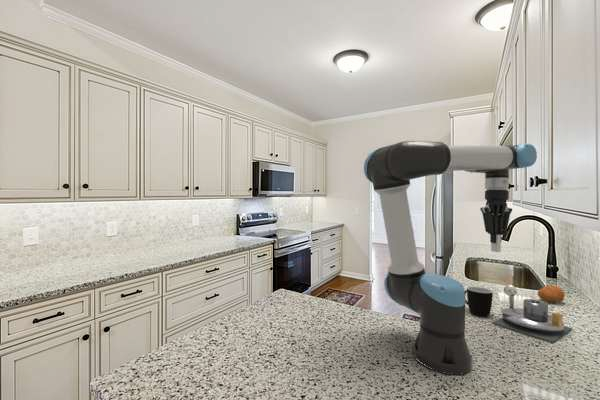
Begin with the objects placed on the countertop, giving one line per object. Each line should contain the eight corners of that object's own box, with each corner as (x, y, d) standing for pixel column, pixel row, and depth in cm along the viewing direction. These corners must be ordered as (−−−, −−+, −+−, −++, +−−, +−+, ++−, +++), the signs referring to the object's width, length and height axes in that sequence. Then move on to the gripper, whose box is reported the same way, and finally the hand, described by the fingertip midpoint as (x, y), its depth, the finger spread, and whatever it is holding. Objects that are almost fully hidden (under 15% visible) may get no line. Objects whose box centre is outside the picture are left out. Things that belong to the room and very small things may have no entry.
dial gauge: (515, 315, 117) (515, 287, 118) (503, 312, 121) (503, 284, 121) (519, 313, 120) (519, 285, 120) (507, 310, 123) (507, 283, 123)
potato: (571, 304, 132) (571, 288, 132) (552, 306, 129) (552, 289, 129) (549, 298, 141) (549, 282, 141) (531, 299, 138) (532, 284, 138)
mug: (497, 316, 116) (497, 291, 116) (482, 319, 113) (482, 293, 113) (470, 306, 127) (470, 283, 127) (455, 309, 124) (455, 285, 124)
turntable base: (553, 343, 93) (553, 337, 93) (492, 323, 109) (492, 318, 109) (572, 329, 104) (572, 324, 104) (514, 313, 119) (514, 308, 120)
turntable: (578, 330, 99) (578, 314, 99) (531, 332, 97) (531, 316, 97) (531, 311, 116) (531, 297, 117) (490, 312, 114) (490, 298, 115)
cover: (553, 322, 102) (553, 303, 102) (535, 322, 101) (535, 304, 101) (535, 314, 109) (535, 297, 109) (518, 315, 108) (518, 297, 108)
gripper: (491, 188, 104) (490, 253, 103) (519, 189, 107) (518, 253, 106) (474, 189, 111) (473, 250, 111) (501, 190, 114) (500, 249, 114)
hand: (495, 251), depth 109 cm, fingers closed
